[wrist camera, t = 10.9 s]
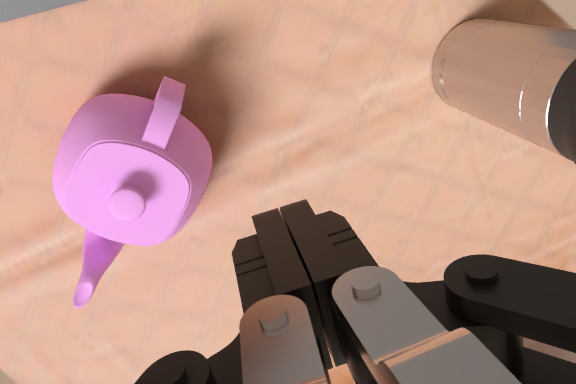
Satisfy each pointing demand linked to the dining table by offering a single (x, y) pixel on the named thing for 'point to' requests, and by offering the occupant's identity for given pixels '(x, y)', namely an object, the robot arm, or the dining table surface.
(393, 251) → the dining table surface
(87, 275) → the teapot
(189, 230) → the dining table surface
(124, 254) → the dining table surface
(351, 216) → the dining table surface
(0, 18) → the board with raised edge
